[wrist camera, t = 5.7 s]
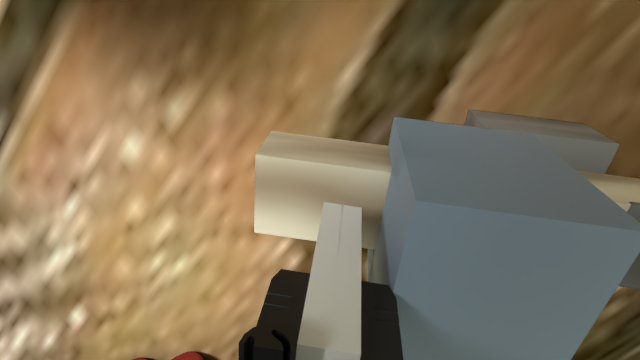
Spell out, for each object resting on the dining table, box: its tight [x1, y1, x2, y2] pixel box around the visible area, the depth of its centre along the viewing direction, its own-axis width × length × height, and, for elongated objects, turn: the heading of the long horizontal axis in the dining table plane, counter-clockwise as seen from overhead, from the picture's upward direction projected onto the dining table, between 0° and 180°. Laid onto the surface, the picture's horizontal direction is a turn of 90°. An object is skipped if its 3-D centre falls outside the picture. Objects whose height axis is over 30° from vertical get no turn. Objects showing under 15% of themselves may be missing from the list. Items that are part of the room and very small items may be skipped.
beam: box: [254, 110, 640, 289], centre depth 16 cm, size 7×26×10 cm, turn 84°
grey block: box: [368, 117, 640, 360], centre depth 14 cm, size 7×6×7 cm
